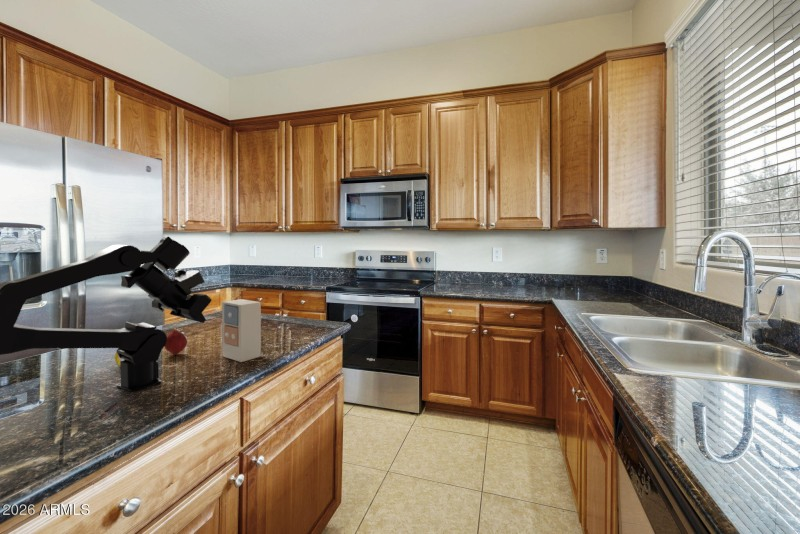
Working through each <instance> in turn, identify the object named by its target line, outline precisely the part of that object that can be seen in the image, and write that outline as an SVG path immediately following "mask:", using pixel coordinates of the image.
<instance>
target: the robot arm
mask: <svg viewBox="0 0 800 534" xmlns="http://www.w3.org/2000/svg"><path fill="white" fill-rule="evenodd" d="M189 255H190V251H189V249H188V248H187V247H186V246H185V245H183V244H181V243H180V242H178V241H176V240H174V239H172V238H171V237H170V236H163V237H162V238H161V239H160V240H159V242H158V243H157V244H156V245H154V246H153V248H151V249H150V250H140V249H139V248H138V247H136V246H134V245H128V244H127V245H126V244H112V245H110V246H108V247H106V248H104V249H101V250H99V251H98V252H96V253H94V254H92V255H91V256H88V257H87V258H86V257H85V258H84V259H82V260H79V261H76V262H71V263H69V264H66V265H65V264H64V265H62V266H58V267H55V268H51V269H48V270H44V271H42V272H38V273H34V274H31V275H27V276H24V277H20V278H17V279H14V280H6V281H3V282H0V356H2V355H3V356H4V355H10V354H15V353H19V352H24V351H28V350H33V349H35V350H36V349H37V350H38V349H39V350H40V349H46V350H47V349H48V350H49V349H116V352H117V354H118V356H119V359H123V360H122V361H121V360H120V366H119V368H120V369H119V371H120V372H119V373H120V382H119V383H117V384H116V387H117V388H120V389H122V390H126V391H128V392H132V393H133V392H137V391H139V390H143V389H146V388H149V387H152V386H154V385H158V384H161V383H162V380H161V379H159V377H160V375H159V374H160V371H159V369H160V367H159V365H160V364H159V362H158V360H159V359H160V356H161V352H162V350H163V349H165V345H166V342H167V336H168V335H167V334H166V333H165V331H164V330H162V329H159V328H157V326H156V325H153V324H150V323H146V322H140V323H135V322H134V323H133V322H129V321H125V323H124V325H125V327H122V328H118V329H105V328H104V329H103V328H101V329H98V328H97V329H96V328H94V329H93V328H69V327H63V328H61V327H59V328H58V327H33V326H27V325H24V324H18V323H17V321H18V319H19V316H20V313H21V311H22V308H23V307H24V304H25V303H26V301H27V300H30V299H32V298H35V297H39V296H42V295H44V294H45V295H46V294H48V293H51V292H54V291H57V290H60V289H63V288H66V287H69V286H72V285H75V284H78V283H81V282H85V281H87V280H90V279H93V278H97V277H101V276H109V275H116V274H123V273H128V272H130V273H128V274H126V275H121V276H120V277H121V284H120V286H121V287H123V288H126V289H131V288H132V287H134V286H135V285H136V287H138V288H140V289H141V290H142V291H143V292H145V293H146V294H147V297H148V298H150V299H153V300H152V301H151V308H153V309H154V310H156V311H157V312H160V313H163V312H164V311H165V309H166V310H170V313H169V314H170V315H171V316H175V317H179V318H183V319H187V320H190V321H193V322H198V323H202V324H204V323H206V321H207V320H206V317H205V315H204V314H203V312H204V311H205V309H207V307H208V306H209V305H210V303H211V302H212V298H211V297H210V296H208V294H203V293H194V294H192V292H193V290H191V289H194V288H195V287H197V286H199V285H202V284H203V283H205V280H204V277H203V276H202V274H201V271H200V270H194V269H191V270H186V271H185V270H184V269H177V270H175V269H176V268H178V266H179V265H180V264H182V262H183V261H184V260H185V259H186V258H187V257H188V256H189ZM169 270H170V271H174V278H170V276H168V275H167V274H166V273H164V272H167V271H169ZM163 271H164V272H163Z"/></svg>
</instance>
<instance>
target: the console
mask: <svg viewBox="0 0 800 534" xmlns="http://www.w3.org/2000/svg"><path fill="white" fill-rule="evenodd" d="M237 299H238V300H234V299H233V300H232V299H230V300H224V301H221V351H222V352H221V354H222V355H221V356H222V357H224V358H227V359H230V360H233V361H236V362H239V363H242V362H246V361H250V360H252V359H257V358H260V357H261V356H262V354H261V353H262V351H261V348H262V347H261V343H262V342H261V336H262V335H261V333H262V331H261V327H262V325H261V323H262V322H261V319H262V317H261V316H262V315H261V312H262V311H261V309H262V308H261V307H262V303H261V301H257V300H256V301H255V300H249V299H245V298H244V299H243V298H237ZM224 305H232V306H237V307H238V325H234V324H230V323H225V322H224ZM225 325H229V326H234V327H238V341H239V346H236V345H232V344H228V343H225V342H224V326H225Z"/></svg>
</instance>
